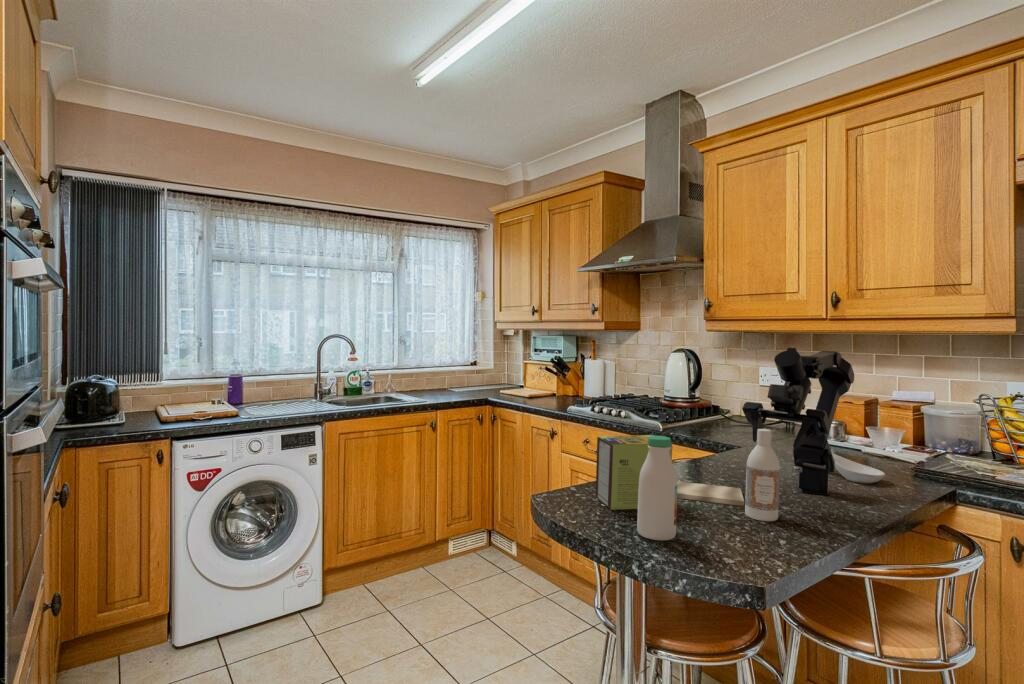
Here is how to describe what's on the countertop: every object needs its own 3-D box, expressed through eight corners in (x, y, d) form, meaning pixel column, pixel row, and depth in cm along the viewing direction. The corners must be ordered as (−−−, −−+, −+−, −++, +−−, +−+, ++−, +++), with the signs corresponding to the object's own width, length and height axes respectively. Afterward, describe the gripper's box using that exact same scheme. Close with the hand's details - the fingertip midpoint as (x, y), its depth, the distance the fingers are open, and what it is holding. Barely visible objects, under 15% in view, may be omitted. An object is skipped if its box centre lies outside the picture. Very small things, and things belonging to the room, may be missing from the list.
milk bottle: (669, 544, 106) (673, 442, 106) (631, 535, 110) (634, 437, 110) (680, 533, 112) (683, 436, 112) (643, 525, 117) (647, 432, 116)
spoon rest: (889, 482, 159) (890, 458, 159) (878, 489, 151) (879, 464, 151) (802, 466, 177) (803, 444, 176) (788, 472, 169) (789, 449, 168)
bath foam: (746, 519, 122) (749, 431, 122) (743, 510, 129) (746, 426, 128) (780, 523, 120) (783, 433, 120) (775, 514, 126) (778, 428, 126)
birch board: (740, 492, 143) (740, 488, 143) (744, 506, 132) (744, 501, 132) (676, 485, 148) (677, 481, 148) (675, 497, 137) (675, 493, 137)
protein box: (671, 508, 129) (673, 442, 129) (610, 510, 126) (612, 443, 125) (651, 494, 139) (653, 434, 139) (594, 496, 136) (596, 435, 136)
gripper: (746, 369, 138) (724, 416, 130) (828, 375, 124) (808, 428, 117) (758, 399, 143) (738, 445, 136) (838, 407, 130) (819, 459, 122)
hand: (773, 444), depth 128 cm, fingers open, 9 cm apart
